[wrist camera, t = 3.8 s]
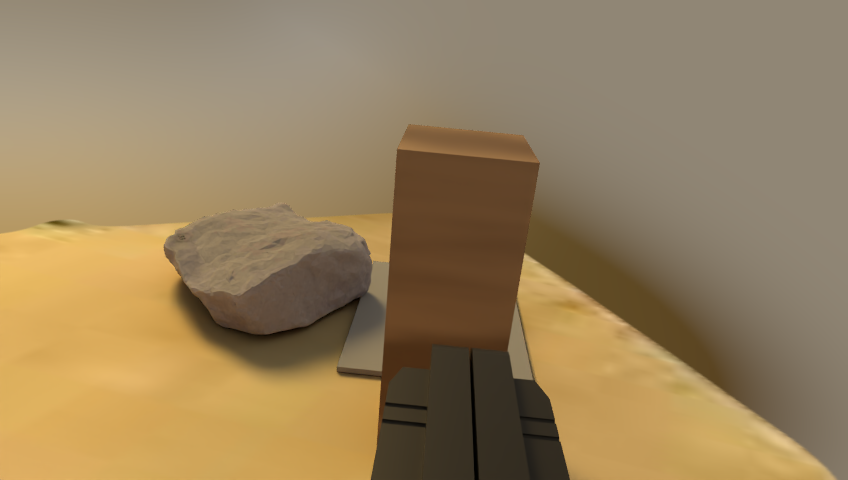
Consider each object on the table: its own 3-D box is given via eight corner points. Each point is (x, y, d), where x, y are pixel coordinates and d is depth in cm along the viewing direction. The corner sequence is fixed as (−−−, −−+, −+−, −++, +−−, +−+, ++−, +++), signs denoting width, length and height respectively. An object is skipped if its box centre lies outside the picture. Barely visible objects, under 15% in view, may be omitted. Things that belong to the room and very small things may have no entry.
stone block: (257, 377, 28) (388, 286, 35) (232, 304, 26) (377, 221, 32) (157, 303, 36) (280, 239, 42) (130, 241, 33) (265, 183, 40)
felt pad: (533, 392, 27) (534, 387, 27) (336, 371, 27) (337, 366, 27) (509, 278, 39) (510, 275, 39) (373, 264, 39) (373, 261, 39)
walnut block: (486, 476, 22) (539, 162, 17) (375, 464, 22) (397, 148, 17) (481, 403, 26) (523, 135, 21) (388, 393, 26) (408, 124, 21)
